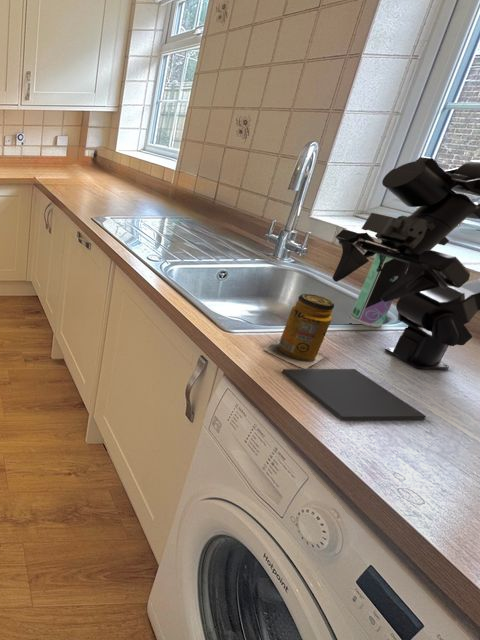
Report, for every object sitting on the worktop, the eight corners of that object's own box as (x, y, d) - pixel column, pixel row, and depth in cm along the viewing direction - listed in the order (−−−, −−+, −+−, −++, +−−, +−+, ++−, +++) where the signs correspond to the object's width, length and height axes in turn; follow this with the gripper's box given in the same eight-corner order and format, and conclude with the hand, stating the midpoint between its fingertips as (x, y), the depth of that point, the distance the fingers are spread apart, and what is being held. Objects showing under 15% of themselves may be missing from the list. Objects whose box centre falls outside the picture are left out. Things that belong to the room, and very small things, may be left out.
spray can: (373, 328, 91) (411, 244, 84) (344, 317, 96) (378, 236, 89) (386, 324, 93) (424, 242, 86) (357, 313, 98) (391, 234, 91)
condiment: (324, 357, 80) (347, 303, 75) (305, 370, 76) (328, 313, 71) (282, 339, 86) (301, 287, 81) (262, 350, 81) (281, 296, 77)
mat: (353, 372, 76) (354, 368, 75) (424, 419, 64) (426, 415, 64) (281, 372, 75) (282, 369, 74) (340, 420, 63) (342, 416, 63)
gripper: (353, 187, 78) (289, 249, 82) (472, 207, 61) (385, 285, 64) (384, 220, 81) (322, 279, 84) (508, 249, 63) (422, 322, 67)
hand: (357, 289), depth 75 cm, fingers open, 9 cm apart
